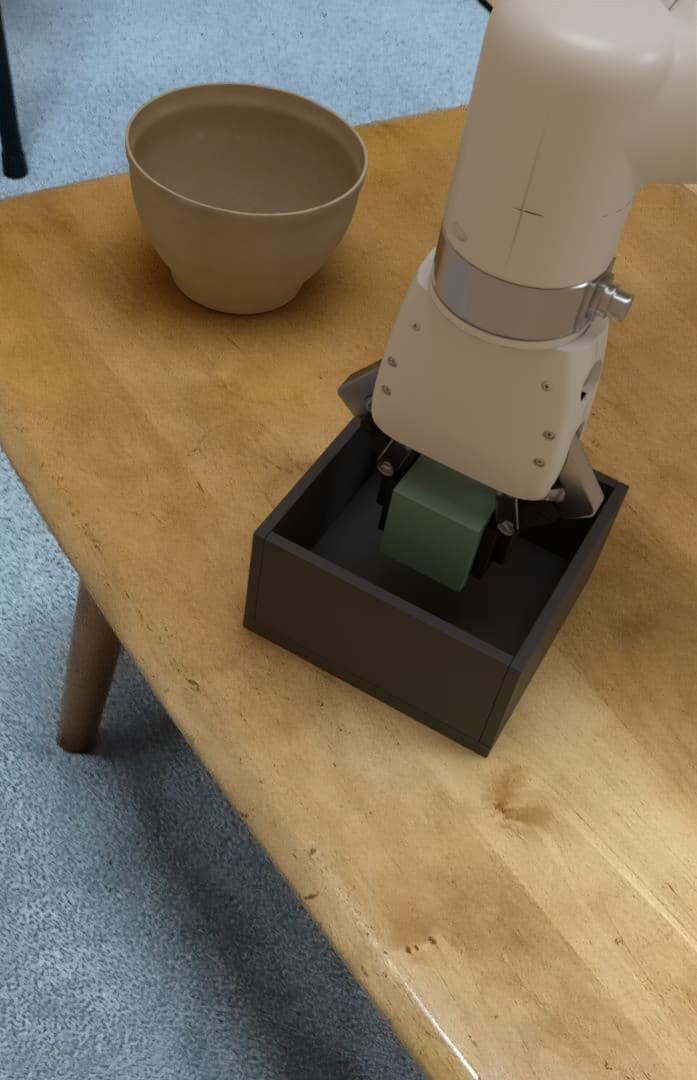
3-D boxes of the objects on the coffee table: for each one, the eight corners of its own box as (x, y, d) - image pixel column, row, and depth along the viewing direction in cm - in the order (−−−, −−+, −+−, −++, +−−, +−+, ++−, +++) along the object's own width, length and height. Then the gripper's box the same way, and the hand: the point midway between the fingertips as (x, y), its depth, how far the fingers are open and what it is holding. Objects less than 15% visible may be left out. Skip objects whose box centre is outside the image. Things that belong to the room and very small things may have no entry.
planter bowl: (364, 348, 87) (388, 217, 79) (130, 348, 84) (130, 211, 75) (331, 212, 97) (349, 84, 89) (121, 208, 94) (120, 74, 86)
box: (497, 536, 70) (518, 474, 66) (459, 593, 67) (478, 532, 63) (419, 497, 71) (435, 435, 67) (378, 551, 68) (393, 489, 64)
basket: (590, 575, 76) (630, 485, 70) (486, 758, 66) (521, 672, 60) (371, 467, 79) (391, 373, 73) (242, 626, 70) (252, 532, 64)
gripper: (722, 305, 55) (604, 565, 69) (389, 163, 59) (340, 435, 73) (668, 397, 51) (553, 656, 64) (310, 235, 55) (273, 511, 68)
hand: (440, 536), depth 68 cm, fingers closed on box, 5 cm apart
